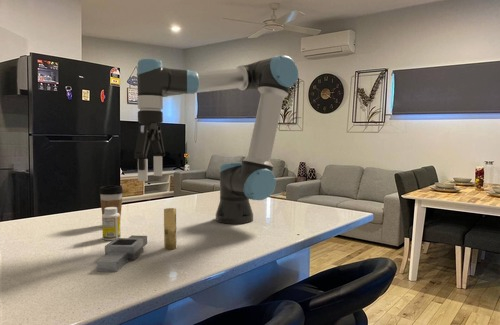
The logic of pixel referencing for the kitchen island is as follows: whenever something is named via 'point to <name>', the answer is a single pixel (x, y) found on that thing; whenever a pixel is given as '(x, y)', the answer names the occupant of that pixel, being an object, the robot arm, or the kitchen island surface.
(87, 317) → the kitchen island surface
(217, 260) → the kitchen island surface
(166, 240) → the pin
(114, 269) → the grey plate with loop
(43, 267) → the kitchen island surface
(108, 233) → the supplement bottle
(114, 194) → the coffee cup
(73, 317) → the kitchen island surface
